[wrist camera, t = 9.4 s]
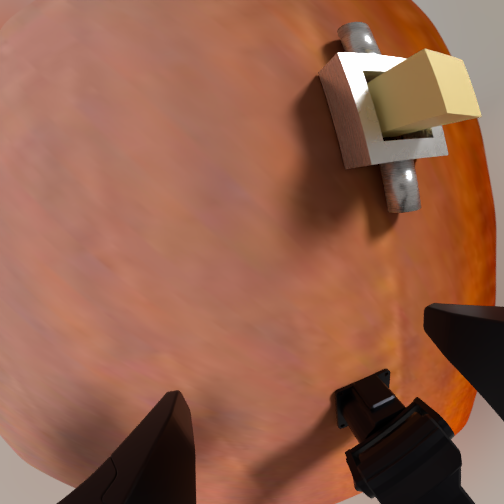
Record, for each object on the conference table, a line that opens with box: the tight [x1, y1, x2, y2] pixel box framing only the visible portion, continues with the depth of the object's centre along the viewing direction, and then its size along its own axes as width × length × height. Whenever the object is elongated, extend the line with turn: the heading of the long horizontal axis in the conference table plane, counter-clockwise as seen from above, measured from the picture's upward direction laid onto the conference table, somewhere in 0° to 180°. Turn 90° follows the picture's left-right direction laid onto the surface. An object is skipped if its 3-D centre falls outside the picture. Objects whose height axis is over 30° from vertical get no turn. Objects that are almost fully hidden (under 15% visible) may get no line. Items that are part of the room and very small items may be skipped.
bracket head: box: [318, 22, 448, 213], centre depth 18 cm, size 16×8×4 cm, turn 14°
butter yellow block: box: [367, 49, 481, 137], centre depth 15 cm, size 4×4×10 cm
